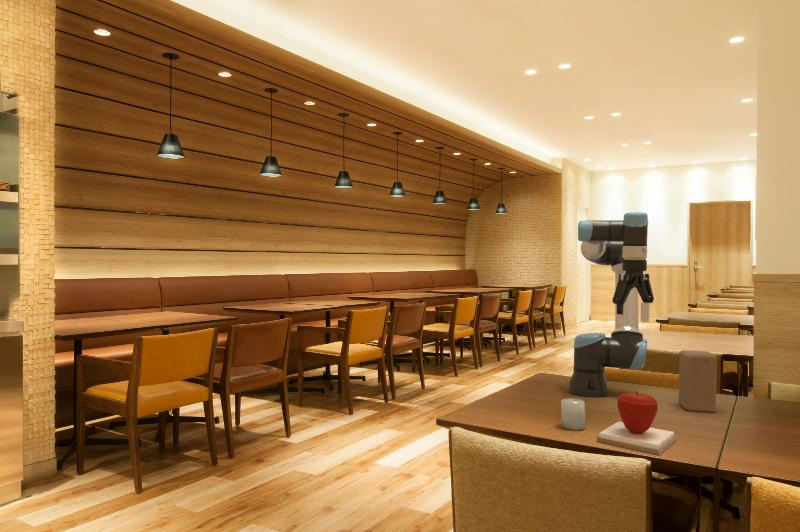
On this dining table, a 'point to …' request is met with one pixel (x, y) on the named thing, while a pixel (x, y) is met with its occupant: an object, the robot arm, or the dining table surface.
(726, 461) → the dining table surface
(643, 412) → the apple
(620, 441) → the stand
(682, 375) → the wooden block
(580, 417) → the white pillar candle
